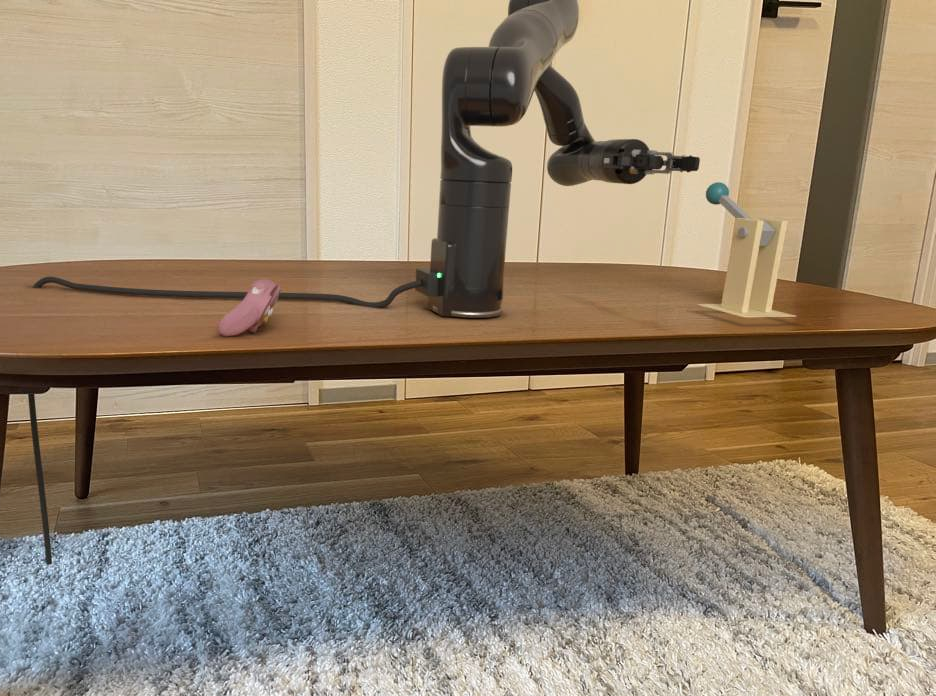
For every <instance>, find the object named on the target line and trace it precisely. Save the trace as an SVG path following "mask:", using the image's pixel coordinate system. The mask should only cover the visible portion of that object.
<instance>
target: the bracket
mask: <svg viewBox="0 0 936 696" xmlns="http://www.w3.org/2000/svg"><path fill="white" fill-rule="evenodd" d="M763 220H764V221H765V222H766V223H767V224H769V225H770V226H771V227H772V228H773V229H774V230H775V233H774V234H773V236H772V238H771V240H770V241H769V243H768V245H767V246H759V245H760V239H761V234H762V228H763V223H764V221H763ZM788 223H789V222H788V220H780V219H770V218H759V219H753V218H752V219H744V218H735V221H734V227H733V232H732V238H731V243H730V244H731V245H730V250H729V257H728V263H727V269H726V274H725V279H724V286H723V292H722V297H721V298H722V299H721V303H697V304H696V305H697V306H702V307H705V308H708V309H712V310H716V311H719V312H723V313H726V314H730V315H734V316H737V317H741V318H775V317H776V318H783V317H789V318H791V317H796V315H795V314H790V313H787V312H782V311H778V310H774V309H772V308H773V303H774V297H775V293H776V288H777V287H776V286H777V282H778V276H779V272H780V266H781V260H782V255H783V249H784V245H785V239H786V233H787V228H788Z"/></svg>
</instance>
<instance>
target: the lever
mask: <svg viewBox="0 0 936 696" xmlns="http://www.w3.org/2000/svg"><path fill="white" fill-rule="evenodd" d="M705 198H706V200H707V202H708V203H709V204H711V205H713V206H714V205H715V206H718V205H721V206H722V207H723V208H724V209H726V210H727V212H728V213H730V214H731V215H732V216H733V217H734V218H735V219H736V218H744V219H753V218H752V217H751V216H750V215H749V214H748V213H746V212H745V211H744V210H743V208H741V207H740V206H739V205H738V203H736V202H735V201H734V200H733V199H731V198H730V189H729V187H728V186H727V184H725V183H723V182H720V181H719V182H718V181H717V182H714V183H713V182H712V183H711V184H710V185H709V186H708V187H707V189H706V191H705ZM763 221H764V220H763ZM774 233H775V230H774V229H773V228H772V227H771V226H770V225H769V224H767V223H766V222H765V221H764V223H763V228H762V234H761V239H760V245H759V246H767V245H768V243H769V241H770V240H771V238H772V236H773V234H774Z"/></svg>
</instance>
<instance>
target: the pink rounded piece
mask: <svg viewBox="0 0 936 696" xmlns="http://www.w3.org/2000/svg"><path fill="white" fill-rule="evenodd" d="M281 291H282V288H281V286H279V284H278V283H276V282H274V281H272V280H270V279H265V278H264V279H263V278H262V279H257V280H255V281H252V282H251V284H250V285H249V287H248V290H247V292H248V293H247V295H246V296H245V298H242V300H241V301H240V302H239V303H238V304H237V305H236V306H235V307H234V308H232V309H231V310H229V311H228V312H227V313H225V314H224V316H222V318H221V319H220V320H219V322H218V326H217V331H218V332H219V334H220V335H221V336H223V337H233V336H238V335H239V334H243V333H244V332H246V331H247V330H248V331H249V332H251V333H253V334H255V333H256V332H257V330H258V328H261V327H262V325H263V324H266V323H267V322H268V320H269V317H271V316H272V315H273V312H274V308H273V307H275V305H276V303H277V301H278V300H279V299H278V296H279V293H281Z"/></svg>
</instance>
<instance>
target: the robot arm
mask: <svg viewBox="0 0 936 696" xmlns="http://www.w3.org/2000/svg"><path fill="white" fill-rule="evenodd" d="M579 18H580V7H579V1H578V0H509V2H508V6H507V17H506V18H504V19H503V21H502V22H500V24H499V25H498V26H497V27H496V28H495V30H494V31H493V33H492V35H491V36H490V38H489V43H488V46H462V47H455V48H452V49H451V50H450V51H449V52H448V54H447V55H446V58H445V61H444V65H443V69H442V78H441V138H440V180H439V197H438V198H439V199H438V214H437V232H436V237H435V238H434V237H433V238H432V240H431V245H430V246H431V248H430V264H429V268H416V269H415V280H414V281H411V282H410V281H409V282H408V283H404V284H402V285H399V286H397V287H396V288H395V289H393V290H392V291H391V292H390V293H389V294H388V296H387V297H386V299H384V300H381V301H376V302H375V301H374V302H373V301H365V300H361V299H358V298H354V297H350V296H347V295H342V294H330V293H312V292H311V293H310V292H309V293H307V292H280V293H279V296H278V299H277V300H313V301H316V300H317V301H334V302H342V303H347V304H351V305H354V306H360V307H366V308H375V309H382V308H385V307H388V306H390V305H391V304H392V302H394V300H395V298H396V297H397V296H398V295H400V294H402V293H403V292H404V293H405V292H406V291H409V290H412V289H414V290H415V291H416V292H418V293H420V294H422V295H424V296H426V297H428V300H427V301H428V302H427V309H428V310H430V311H432V312H434V313H436V314H437V315H439V316H441V317H452V318H453V317H454V318H461V319H463V318H464V319H465V318H466V319H489V318H496V317H498V316H501V315H502V303H503V301H504V293H503V291H504V276H505V265H506V264H505V262H506V253H507V252H506V250H507V240H508V239H507V237H508V226H509V213H510V205H511V204H510V203H511V191H512V190H511V189H512V178H513V164H512V162H511V160H509V159H508V158H506V157H504V156H501V155H499V154H497V153H494V152H492V151H490V150H488V149H486V148H484V147H483V146H481V145H480V144H479V143H478V142H477V141H476V140H475V139H474V138H473V135H472V130H471V127H498V128H499V127H509V126H514V125H516V124H518V123H519V122H520V121H521V120H522V119H523V117H524V116H525V114H526V113H527V110H528V108H529V105H530V103H531V101H532V98H533V95H534V93H535V97H536V98H537V101H538V105H539V107H540V111H541V114H542V118H543V121H544V125H545V129H546V133H547V136H548V139H549V140H550V142H551V143H552V144H554V145H555V146H559V148H558V149H556V150H555V151H554V152H553V153H552V154H551V155H549V157H548V159H547V162H546V171H547V174H548V176H549V178H550V179H551V180H552V181H553V182H554V183H556V184H557V185H561V186H564V187H572V186H573V187H574V186H578V185H582V184H585V183H587V182H590V181H598V182H599V181H600V182H605V183H609V184H621V185H634V184H637V183H639V182H641V181H642V180H643V179H644V178H645V177H646V176H647V175H655V174H665V175H666V174H667V175H668V174H672V172H679V173H684V172H686V173H691V172H697V171H699V168H700V162H701V158H700V157H699V156H693V155H686V154H682V155H676V154H675V153H674V152H669V151H668V152H667V151H662V152H661V151H658V150H654V149H653V150H651V149H650V148H649V146H648V145H647V143H646V142H644V141H642V140H641V139H637V138H621V139H619V138H617V139H615V138H614V139H608V140H595V139H594V137H593V135H592V134H591V132H590V131H589V128H588V126H587V124H586V122H585V120H584V119H585V118H584V114H583V110H582V109H583V108H582V104H581V101H580V96H579V94H578V92H577V91H576V88H575V87H574V86H573V85H572V84H571V83H570V81H568V80H567V79H566V78H565V76H563V75H562V74H561V73H560V72H558V71H557V70H556V69H555V68H554V67H553V66H552V65H551V64H552V62H553V60H554V58H555V56H556V55H557V54H558V52H559V51H560V49H562V47H564V46H565V45H567V44H568V43H569V42H571V41H572V40H573V38H574V37H575V35H576V33H577V29H578V25H579V20H580V19H579ZM662 156H663V157H662ZM664 156H665V157H666V159H664ZM663 167H665V168H664V169H662V168H663ZM46 284H56V285H59V286H63V287H66V288H69V289H72V290H77V291H86V292H87V291H88V292H98V293H105V294H106V293H107V294H116V295H117V294H118V295H119V294H120V295H132V296H149V297H174V298H205V299H207V298H210V299H212V298H213V299H215V298H216V299H244V298H245V296H246V295H247V293H248V291H214V290H213V291H211V290H210V291H207V290H205V291H203V290H174V289H173V290H172V289H171V290H170V289H150V288H149V289H147V288H132V287H129V288H128V287H116V286H106V285H98V284H97V285H95V284H87V283H75V282H73V281H69V280H67V279H63V278H60V277H55V276H44V277H42V278H40V279H39V280H37V281H36V282H35V283H34V284H33V286H32V289H41V287H43V286H44V285H46ZM27 398H28V409H29V422H30V429H31V430H30V431H31V438H32V448H33V456H34V464H35V473H36V478H37V479H36V482H37V488H38V489H37V490H38V497H39V504H40V515H41V524H42V532H43V542H44V555H45V564H46V565H47V566H51V565H52V564H53V559H52V558H53V557H52V556H53V555H52V546H51V536H50V535H51V533H50V526H49V516H48V506H47V505H48V504H47V497H46V490H45V480H44V473H43V472H44V471H43V465H42V455H41V447H40V446H41V445H40V440H39V439H40V438H39V428H38V419H37V418H38V417H37V409H36V397H35V393H34V394H28V393H27Z"/></svg>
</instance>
